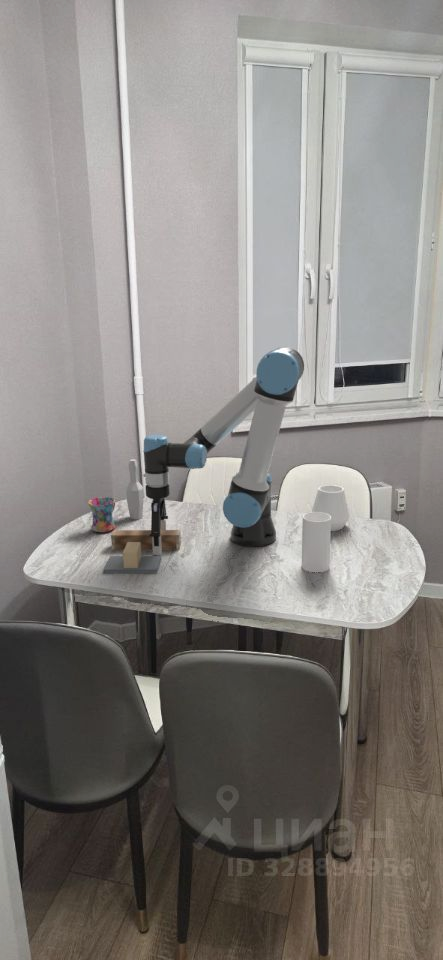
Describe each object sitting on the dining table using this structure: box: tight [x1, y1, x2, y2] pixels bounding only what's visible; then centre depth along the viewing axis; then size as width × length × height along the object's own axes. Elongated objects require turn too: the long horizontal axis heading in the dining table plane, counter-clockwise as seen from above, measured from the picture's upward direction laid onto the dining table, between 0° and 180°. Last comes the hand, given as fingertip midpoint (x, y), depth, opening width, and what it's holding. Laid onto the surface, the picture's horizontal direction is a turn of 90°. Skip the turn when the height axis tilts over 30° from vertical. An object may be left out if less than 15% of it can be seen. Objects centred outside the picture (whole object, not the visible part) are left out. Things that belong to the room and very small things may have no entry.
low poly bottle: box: [125, 458, 144, 520], centre depth 225 cm, size 6×6×22 cm
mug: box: [87, 496, 116, 533], centre depth 216 cm, size 12×9×11 cm
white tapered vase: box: [311, 484, 350, 532], centre depth 214 cm, size 13×13×14 cm
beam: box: [110, 529, 182, 551], centre depth 200 cm, size 22×5×5 cm, turn 88°
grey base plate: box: [102, 542, 162, 574], centre depth 186 cm, size 16×10×6 cm, turn 88°
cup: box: [301, 511, 332, 574], centre depth 182 cm, size 8×8×16 cm
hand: (160, 546), depth 201 cm, fingers open, 13 cm apart
